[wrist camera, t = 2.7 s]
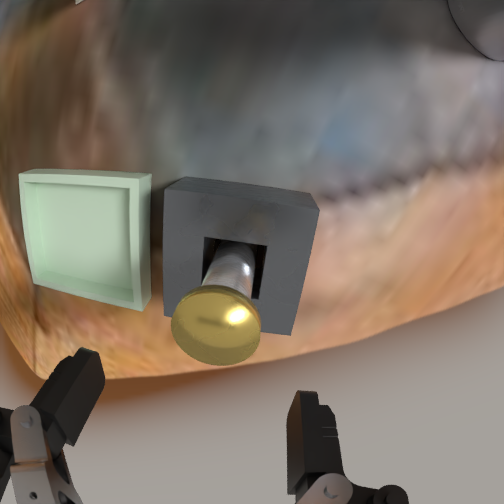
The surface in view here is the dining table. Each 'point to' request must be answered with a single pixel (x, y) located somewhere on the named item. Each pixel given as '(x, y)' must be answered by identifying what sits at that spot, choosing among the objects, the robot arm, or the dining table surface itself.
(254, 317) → the pin
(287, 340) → the dining table surface
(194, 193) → the socket block
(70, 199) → the tray
